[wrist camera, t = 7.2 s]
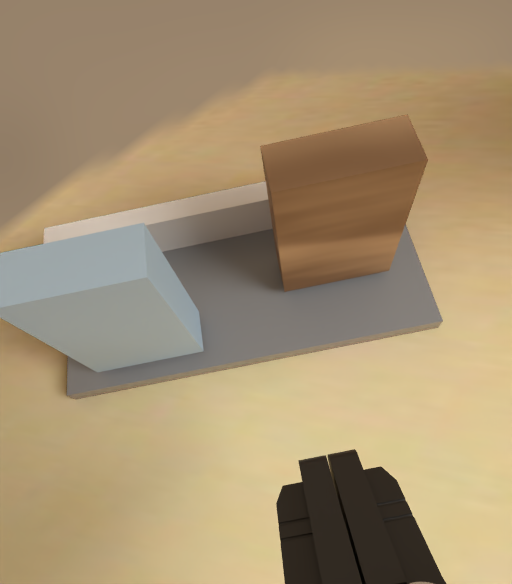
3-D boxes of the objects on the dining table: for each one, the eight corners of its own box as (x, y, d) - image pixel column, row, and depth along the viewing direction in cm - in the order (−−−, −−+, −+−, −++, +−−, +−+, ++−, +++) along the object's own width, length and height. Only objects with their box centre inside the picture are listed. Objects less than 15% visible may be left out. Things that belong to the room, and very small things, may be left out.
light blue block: (97, 332, 25) (-7, 254, 17) (198, 311, 25) (143, 222, 17) (97, 372, 24) (-14, 310, 16) (203, 351, 24) (147, 277, 15)
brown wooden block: (276, 256, 26) (260, 146, 17) (376, 235, 25) (407, 114, 17) (284, 292, 25) (271, 192, 16) (389, 270, 24) (427, 159, 16)
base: (77, 261, 29) (44, 227, 25) (388, 196, 28) (399, 152, 25) (75, 399, 25) (35, 383, 21) (437, 327, 24) (460, 298, 21)
